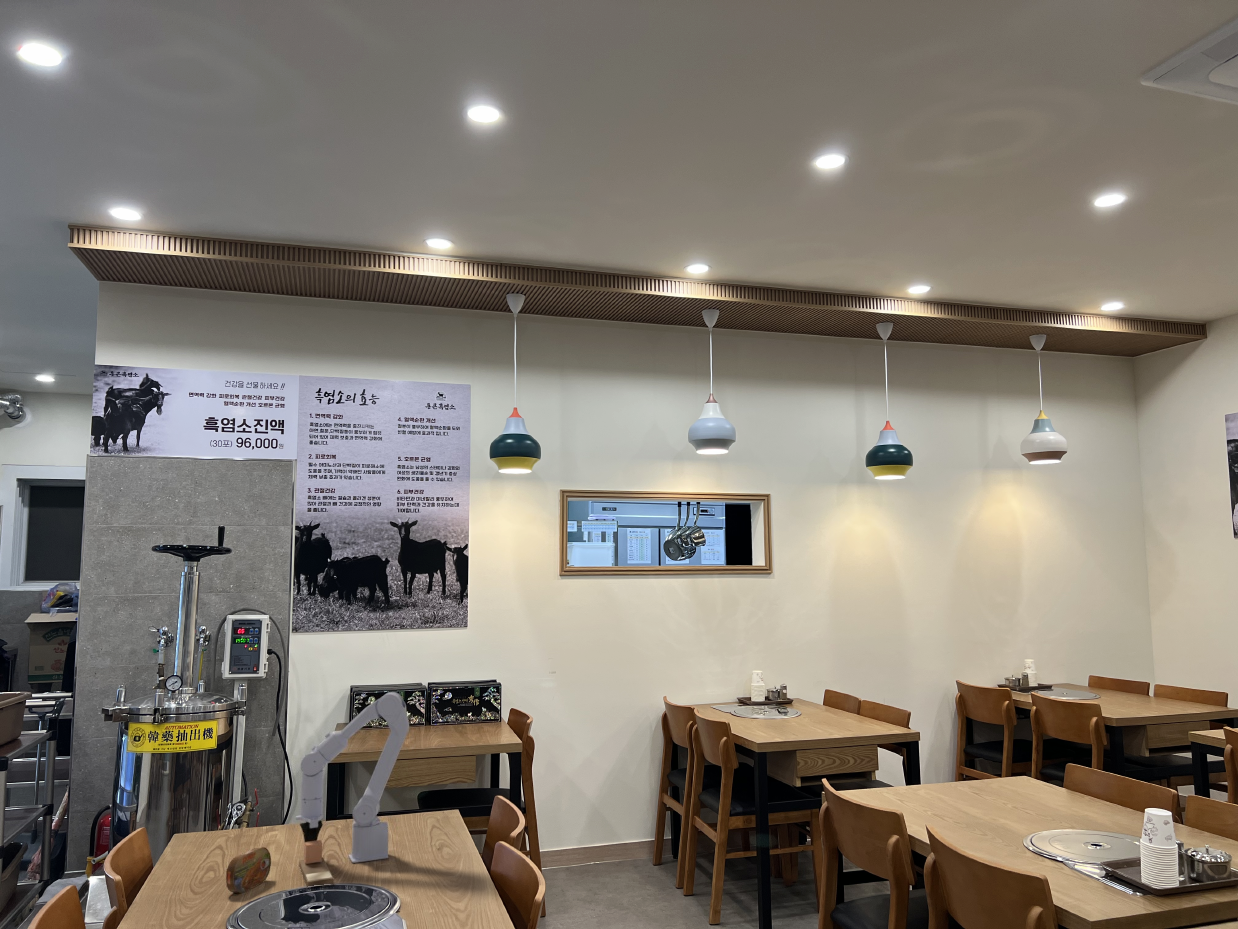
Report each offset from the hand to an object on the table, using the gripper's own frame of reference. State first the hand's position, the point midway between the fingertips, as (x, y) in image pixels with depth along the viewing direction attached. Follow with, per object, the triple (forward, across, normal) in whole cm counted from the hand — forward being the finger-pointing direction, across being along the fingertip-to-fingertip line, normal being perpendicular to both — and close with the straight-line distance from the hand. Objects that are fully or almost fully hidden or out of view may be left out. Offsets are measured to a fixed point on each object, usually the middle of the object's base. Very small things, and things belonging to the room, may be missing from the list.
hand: (310, 850), depth 232 cm
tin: (+3, +16, -16) cm, 23 cm away
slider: (+1, +7, 0) cm, 7 cm away
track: (+3, +14, 0) cm, 14 cm away
